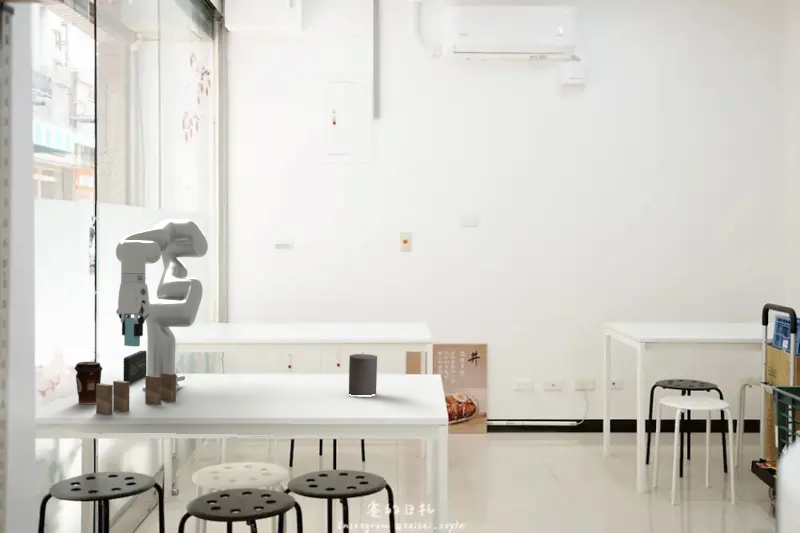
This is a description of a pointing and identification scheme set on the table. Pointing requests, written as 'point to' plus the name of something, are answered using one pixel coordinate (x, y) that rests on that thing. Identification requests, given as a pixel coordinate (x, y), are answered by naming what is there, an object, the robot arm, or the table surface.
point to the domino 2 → (130, 333)
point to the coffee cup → (87, 381)
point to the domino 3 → (153, 390)
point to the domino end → (168, 387)
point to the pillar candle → (362, 374)
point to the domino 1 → (121, 396)
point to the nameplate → (135, 367)
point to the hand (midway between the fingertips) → (132, 335)
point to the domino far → (104, 399)
